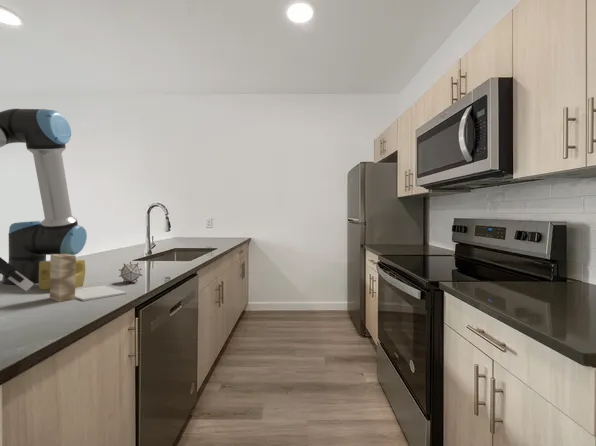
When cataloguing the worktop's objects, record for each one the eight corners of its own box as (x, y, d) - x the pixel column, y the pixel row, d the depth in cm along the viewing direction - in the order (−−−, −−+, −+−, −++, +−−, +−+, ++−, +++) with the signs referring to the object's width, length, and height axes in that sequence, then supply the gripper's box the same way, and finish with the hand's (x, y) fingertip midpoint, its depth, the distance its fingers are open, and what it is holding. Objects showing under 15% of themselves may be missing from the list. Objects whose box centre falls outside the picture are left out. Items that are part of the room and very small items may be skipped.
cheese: (62, 291, 124) (62, 263, 124) (36, 289, 127) (36, 261, 126) (85, 285, 135) (86, 259, 134) (61, 283, 137) (61, 257, 137)
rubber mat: (83, 301, 113) (83, 299, 113) (61, 293, 122) (61, 291, 122) (126, 293, 124) (126, 292, 124) (103, 287, 133) (103, 285, 133)
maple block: (59, 301, 111) (60, 256, 111) (49, 298, 115) (50, 254, 115) (75, 299, 115) (75, 255, 114) (65, 295, 119) (66, 253, 118)
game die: (135, 291, 144) (150, 272, 144) (116, 287, 138) (132, 266, 137) (128, 277, 150) (143, 259, 149) (110, 272, 143) (125, 253, 142)
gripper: (-66, 241, 95) (10, 293, 109) (-54, 245, 87) (27, 301, 102) (-39, 221, 99) (31, 274, 113) (-25, 223, 92) (48, 280, 106)
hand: (29, 287), depth 107 cm, fingers closed
